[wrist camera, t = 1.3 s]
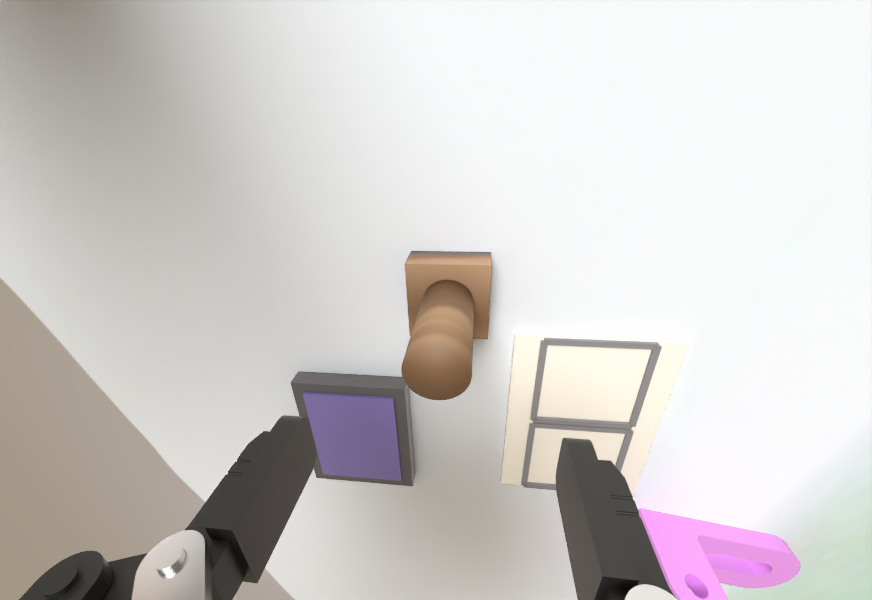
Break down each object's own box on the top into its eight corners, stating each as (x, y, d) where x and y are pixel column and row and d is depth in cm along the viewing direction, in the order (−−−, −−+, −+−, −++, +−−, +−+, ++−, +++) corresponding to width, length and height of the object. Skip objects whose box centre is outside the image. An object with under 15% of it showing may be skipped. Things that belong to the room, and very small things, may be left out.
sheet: (515, 333, 22) (515, 337, 21) (686, 339, 21) (691, 344, 20) (500, 479, 28) (501, 485, 28) (631, 491, 27) (634, 497, 27)
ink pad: (298, 371, 25) (289, 384, 24) (407, 377, 25) (404, 391, 23) (322, 465, 30) (315, 479, 29) (415, 472, 29) (412, 488, 28)
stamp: (411, 250, 20) (375, 322, 13) (490, 252, 20) (496, 327, 13) (415, 318, 22) (385, 411, 15) (487, 321, 22) (490, 418, 15)
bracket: (612, 543, 31) (644, 649, 25) (638, 506, 28) (682, 614, 22) (761, 574, 31) (831, 689, 24) (802, 539, 28) (892, 658, 22)
